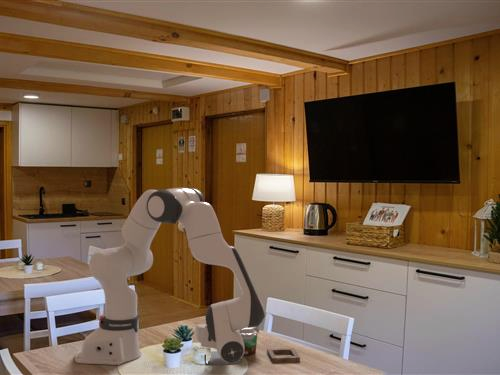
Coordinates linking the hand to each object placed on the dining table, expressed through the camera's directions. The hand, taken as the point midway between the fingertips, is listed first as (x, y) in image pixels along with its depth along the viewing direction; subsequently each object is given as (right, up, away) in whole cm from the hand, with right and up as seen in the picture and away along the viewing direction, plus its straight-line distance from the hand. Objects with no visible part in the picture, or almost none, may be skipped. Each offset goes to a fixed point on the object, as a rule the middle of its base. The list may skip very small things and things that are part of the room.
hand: (223, 324), depth 182 cm
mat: (0, -12, 0) cm, 12 cm away
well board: (+21, -13, +3) cm, 25 cm away
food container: (+10, -12, +7) cm, 17 cm away
